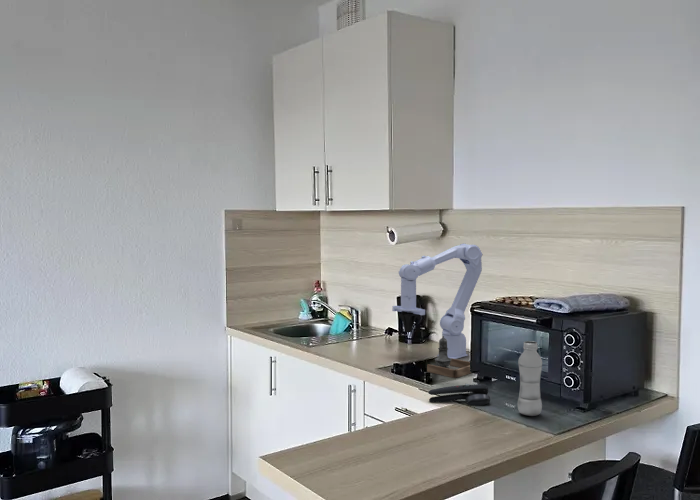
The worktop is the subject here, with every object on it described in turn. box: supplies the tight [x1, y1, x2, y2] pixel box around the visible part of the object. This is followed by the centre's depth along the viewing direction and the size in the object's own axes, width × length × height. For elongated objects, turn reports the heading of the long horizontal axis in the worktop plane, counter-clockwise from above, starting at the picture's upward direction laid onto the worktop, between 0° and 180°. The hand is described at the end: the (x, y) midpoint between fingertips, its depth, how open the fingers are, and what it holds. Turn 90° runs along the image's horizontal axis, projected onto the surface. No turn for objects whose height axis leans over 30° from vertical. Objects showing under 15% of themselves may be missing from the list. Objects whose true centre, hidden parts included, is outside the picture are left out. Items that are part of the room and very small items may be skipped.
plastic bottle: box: [517, 340, 543, 417], centre depth 171 cm, size 6×7×20 cm
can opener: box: [427, 383, 491, 406], centre depth 184 cm, size 18×7×6 cm, turn 85°
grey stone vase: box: [434, 336, 451, 369], centre depth 222 cm, size 6×6×12 cm
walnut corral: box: [426, 358, 472, 379], centre depth 220 cm, size 14×12×2 cm
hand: (408, 332), depth 238 cm, fingers closed
